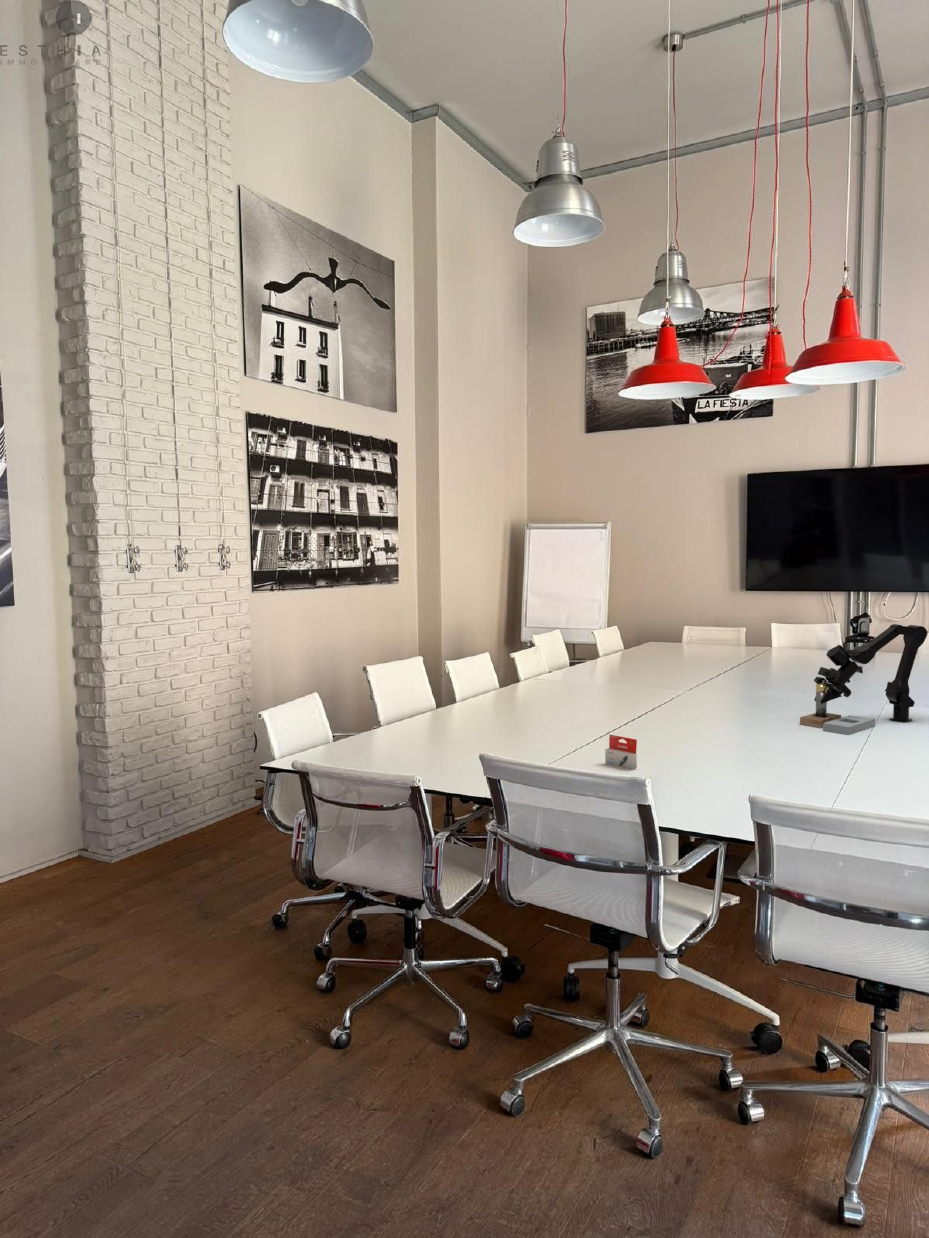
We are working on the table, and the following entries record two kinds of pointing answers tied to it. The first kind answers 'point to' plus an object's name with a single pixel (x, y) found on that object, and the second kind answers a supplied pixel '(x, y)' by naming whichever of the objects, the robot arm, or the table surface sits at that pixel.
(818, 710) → the gold capped metal post
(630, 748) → the ink cartridge box
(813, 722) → the socket block
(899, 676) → the robot arm
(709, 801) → the table surface
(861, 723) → the board
